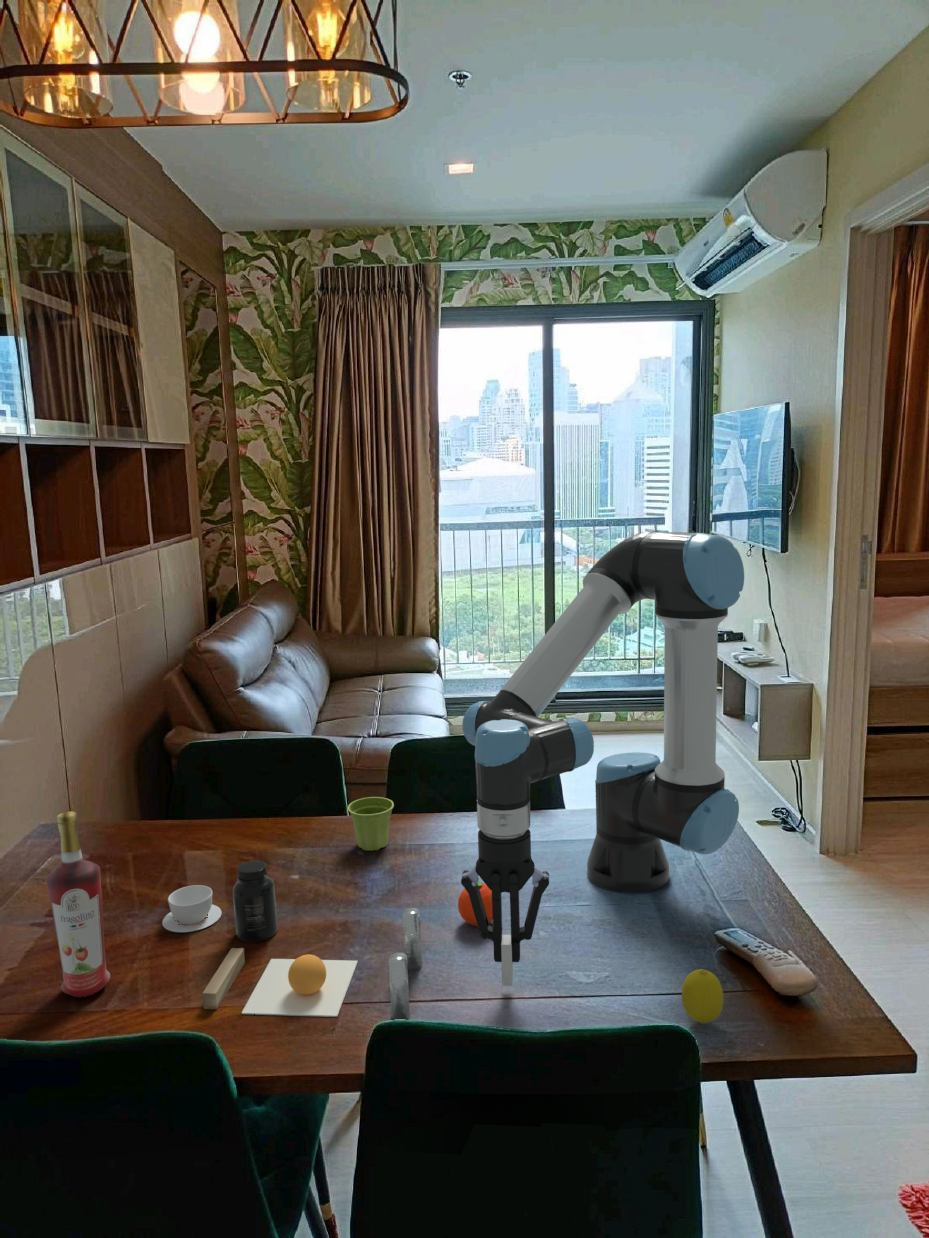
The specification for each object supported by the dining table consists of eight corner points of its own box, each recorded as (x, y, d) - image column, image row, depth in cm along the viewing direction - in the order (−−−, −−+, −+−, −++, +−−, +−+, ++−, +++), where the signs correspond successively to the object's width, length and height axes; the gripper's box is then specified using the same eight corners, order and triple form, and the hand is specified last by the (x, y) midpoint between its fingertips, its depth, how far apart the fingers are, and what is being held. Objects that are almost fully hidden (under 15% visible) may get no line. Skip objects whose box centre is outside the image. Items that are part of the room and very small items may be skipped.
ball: (303, 986, 133) (336, 973, 132) (293, 1008, 127) (327, 994, 127) (287, 954, 132) (320, 941, 132) (277, 974, 127) (311, 961, 126)
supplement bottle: (285, 925, 149) (280, 860, 147) (263, 946, 143) (258, 878, 141) (250, 920, 151) (245, 855, 149) (228, 940, 145) (222, 873, 143)
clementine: (449, 915, 151) (448, 877, 150) (486, 906, 154) (485, 869, 152) (468, 937, 144) (467, 897, 142) (506, 927, 146) (505, 888, 145)
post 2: (423, 960, 137) (420, 907, 136) (420, 970, 135) (418, 916, 133) (406, 960, 137) (404, 907, 136) (404, 969, 135) (401, 916, 133)
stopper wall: (245, 962, 138) (243, 948, 138) (217, 1008, 126) (215, 993, 126) (232, 962, 138) (231, 947, 138) (203, 1008, 127) (202, 992, 126)
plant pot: (393, 854, 176) (391, 813, 174) (346, 855, 176) (344, 814, 174) (397, 835, 185) (395, 796, 183) (353, 836, 185) (351, 797, 184)
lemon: (675, 1012, 123) (676, 960, 121) (714, 1009, 123) (715, 957, 122) (689, 1037, 117) (690, 983, 116) (729, 1034, 118) (730, 979, 116)
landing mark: (357, 961, 138) (357, 960, 138) (337, 1016, 124) (337, 1015, 124) (271, 959, 139) (271, 958, 139) (241, 1013, 125) (241, 1012, 125)
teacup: (233, 911, 155) (231, 887, 154) (194, 939, 146) (192, 913, 145) (190, 901, 159) (187, 877, 158) (149, 928, 150) (147, 902, 150)
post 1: (410, 1010, 125) (408, 952, 123) (408, 1021, 122) (405, 963, 121) (392, 1009, 125) (390, 952, 123) (389, 1021, 122) (386, 962, 121)
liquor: (59, 1008, 128) (38, 828, 123) (60, 982, 134) (40, 810, 130) (113, 995, 131) (94, 819, 126) (111, 970, 137) (93, 802, 132)
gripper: (456, 839, 121) (461, 994, 125) (550, 840, 120) (552, 996, 124) (461, 818, 128) (465, 964, 132) (549, 818, 127) (551, 966, 131)
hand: (507, 980), depth 128 cm, fingers closed
